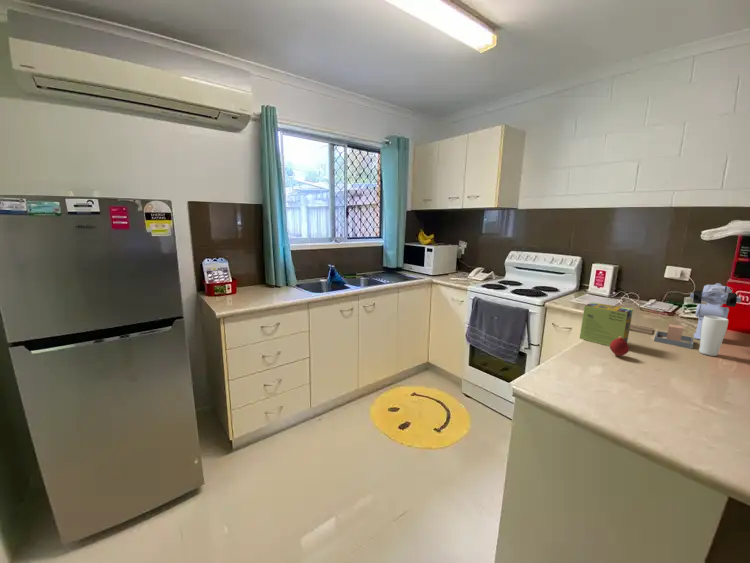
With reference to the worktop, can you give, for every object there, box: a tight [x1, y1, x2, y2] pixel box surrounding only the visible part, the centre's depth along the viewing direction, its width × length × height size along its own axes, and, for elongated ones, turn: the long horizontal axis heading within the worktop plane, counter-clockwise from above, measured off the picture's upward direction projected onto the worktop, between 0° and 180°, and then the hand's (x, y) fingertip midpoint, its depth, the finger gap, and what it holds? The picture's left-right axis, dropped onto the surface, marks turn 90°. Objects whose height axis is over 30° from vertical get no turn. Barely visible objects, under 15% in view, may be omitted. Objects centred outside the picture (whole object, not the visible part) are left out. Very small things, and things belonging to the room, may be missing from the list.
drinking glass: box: [698, 316, 729, 357], centre depth 125 cm, size 7×7×15 cm
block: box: [666, 323, 684, 342], centre depth 139 cm, size 4×4×7 cm
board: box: [629, 323, 655, 336], centre depth 155 cm, size 10×10×1 cm
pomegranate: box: [609, 336, 630, 357], centre depth 121 cm, size 6×6×8 cm
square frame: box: [653, 330, 694, 349], centre depth 140 cm, size 12×12×2 cm
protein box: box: [579, 302, 634, 347], centre depth 137 cm, size 10×15×16 cm
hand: (713, 301), depth 128 cm, fingers open, 7 cm apart
